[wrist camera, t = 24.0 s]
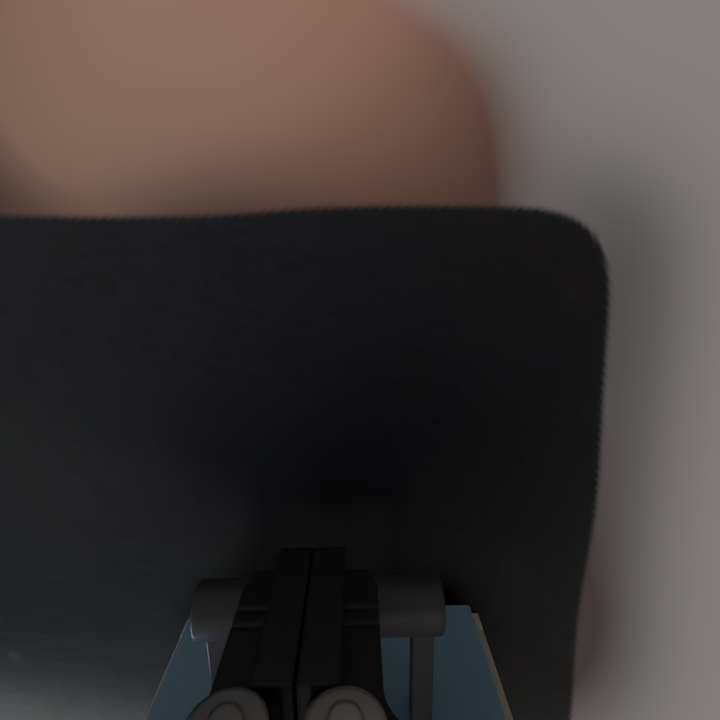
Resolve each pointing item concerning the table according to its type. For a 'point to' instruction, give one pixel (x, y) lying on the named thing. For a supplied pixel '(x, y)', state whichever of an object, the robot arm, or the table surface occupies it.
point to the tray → (398, 649)
